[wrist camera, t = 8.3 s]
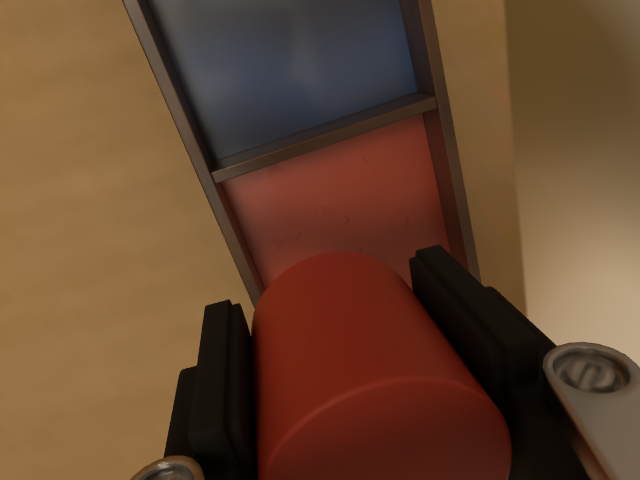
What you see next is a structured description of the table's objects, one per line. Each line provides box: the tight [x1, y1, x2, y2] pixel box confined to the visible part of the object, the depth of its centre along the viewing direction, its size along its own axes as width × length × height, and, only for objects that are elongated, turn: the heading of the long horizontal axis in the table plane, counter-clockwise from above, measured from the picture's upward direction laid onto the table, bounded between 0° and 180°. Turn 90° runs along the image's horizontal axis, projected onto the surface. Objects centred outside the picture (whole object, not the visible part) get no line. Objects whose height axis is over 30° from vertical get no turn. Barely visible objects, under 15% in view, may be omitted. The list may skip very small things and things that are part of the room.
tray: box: [122, 0, 482, 309], centre depth 23 cm, size 25×12×3 cm, turn 17°
